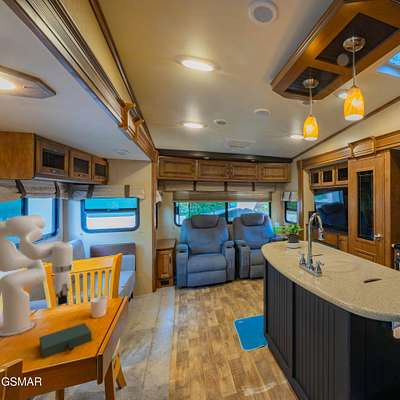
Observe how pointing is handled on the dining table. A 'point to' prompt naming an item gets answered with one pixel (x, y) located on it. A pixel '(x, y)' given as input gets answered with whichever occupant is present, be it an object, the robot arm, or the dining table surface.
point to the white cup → (98, 306)
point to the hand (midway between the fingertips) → (62, 303)
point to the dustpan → (64, 339)
